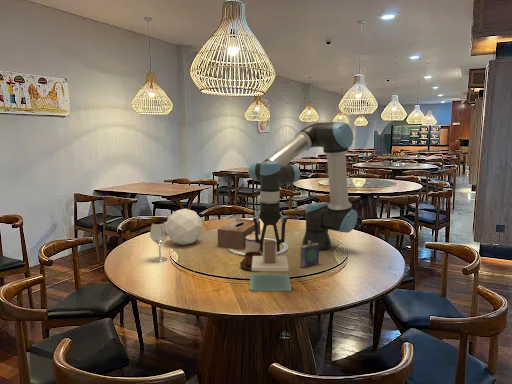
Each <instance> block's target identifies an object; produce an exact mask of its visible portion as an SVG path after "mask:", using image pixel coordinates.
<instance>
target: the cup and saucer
mask: <svg viewBox="0 0 512 384" xmlns="http://www.w3.org/2000/svg"><path fill="white" fill-rule="evenodd" d="M253 256H261V253H260V252H247V253H246V252H245V253H244V258H243V259H242V260H241V261H240V262H239V265H240V267H241V268H243V269H245V270H250V271H252V259H253Z"/></svg>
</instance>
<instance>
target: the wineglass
mask: <svg viewBox="0 0 512 384" xmlns="http://www.w3.org/2000/svg"><path fill="white" fill-rule="evenodd" d="M149 237H150V239H151V240H152V241H153V242H154V243H156V244H157V245H158V256H157V257H155V258H153V260H152V261H153V262H155V263H163V262H166V261H167V260H168V257H165V256H162V253H161V252H162V250H161V245H162V244H163V242H165V241H166V240H167V239H168V231H167V228H166V222H165V221H153V222H152V223H151V227H150V232H149Z"/></svg>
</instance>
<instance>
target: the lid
mask: <svg viewBox="0 0 512 384" xmlns="http://www.w3.org/2000/svg"><path fill="white" fill-rule="evenodd" d="M264 243H265V261H263V256H253V259H252V270H251V271H252V272H289V263H288V258H287V257H288V256H287V255H277V261H275V243H276V240H264Z"/></svg>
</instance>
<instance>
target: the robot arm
mask: <svg viewBox="0 0 512 384" xmlns="http://www.w3.org/2000/svg"><path fill="white" fill-rule="evenodd" d="M353 141H354V133H353V130H352V127H351V126H350V125H349V124H348V123H347V122H344V121H327V122H323V121H321V122H315V123H312V124H310V125H308V126H306V127H304V128H303V129H301V130H299V131H298V132H296V133H295V135H294V138H292V139H291V140H289V141H288V142H286V143H285V144H284V145H283V146H282V147H280V148H279V149H277V150H276V151H275V152H273V153H272V154H270V156H268V157H267V158H266V159H264V160H263V161H261V162H260V163H259V162H256V163H255V162H254V163H252V164H251V165H250V166H249V169H248V175H249V178H250V180H252V181H257V182H260V184H259V185H260V195H259V197H260V198H259V199H260V201H261V202H260V203H259V204H260V205H259V206H260V207H259V209H260V211H259V215H258V216H254V217H253V218H252V220H253V221H254V224H255V242H256V243H259V244H260V252H263V261H265V236H266V231H267V226H273V231H274V235H275V236H274V237H275V261H277V256H278V253H279V252H281V244H284V243H285V241H286V239H285V237H286V224H287V221H288V218H287V216H282V215H281V213H280V211H281V209H280V207H281V204H280V203H281V202H280V196H281V188H280V187H281V185H289V184H293V183H296V182H298V180H300V177H301V171H300V169H299V167H298V165H295V164H289V163H290V162H292V161H293V160H294V159H295V158H297V157H298V156H299V155H300V154H302V153H303V152H304V151H309V150H310V149H313V148H317V147H318V148H322V149H323V154H325V155H326V158H327V161H326V162H327V171H328V172H327V173H328V174H327V175H328V187H329V200H330V202H327V201H325V202H323V201H322V202H320V201H319V202H313V203H308V204H307V205H306V208H305V231H304V235H303V239H302V242H301V246H304V245H308V242H307V241H308V240H310V241H311V243H318V244H319V251H327V250H329V249H331V248H332V241H331V238H330V234H329V230H331V231H333V232H340V233H346V234H347V233H350V232H352V231H353V230H354V228H355V226H356V224H357V221H358V212H357V211H356V210H355V209H353V206H352V203H351V202H350V201H349V191H348V190H349V189H348V175H347V157H346V156H347V155H346V154H347V152H348V151H349V150H350V149H349V148H350V147H351V146H352V144H353ZM279 220H280V221H281V235H280V236H281V237H280V236H279V231H278V227H277V224H278V222H279ZM259 221H260V222H262V223H263V226H262V231H261V233H260V235H261V239H259V237H258V222H259Z"/></svg>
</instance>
